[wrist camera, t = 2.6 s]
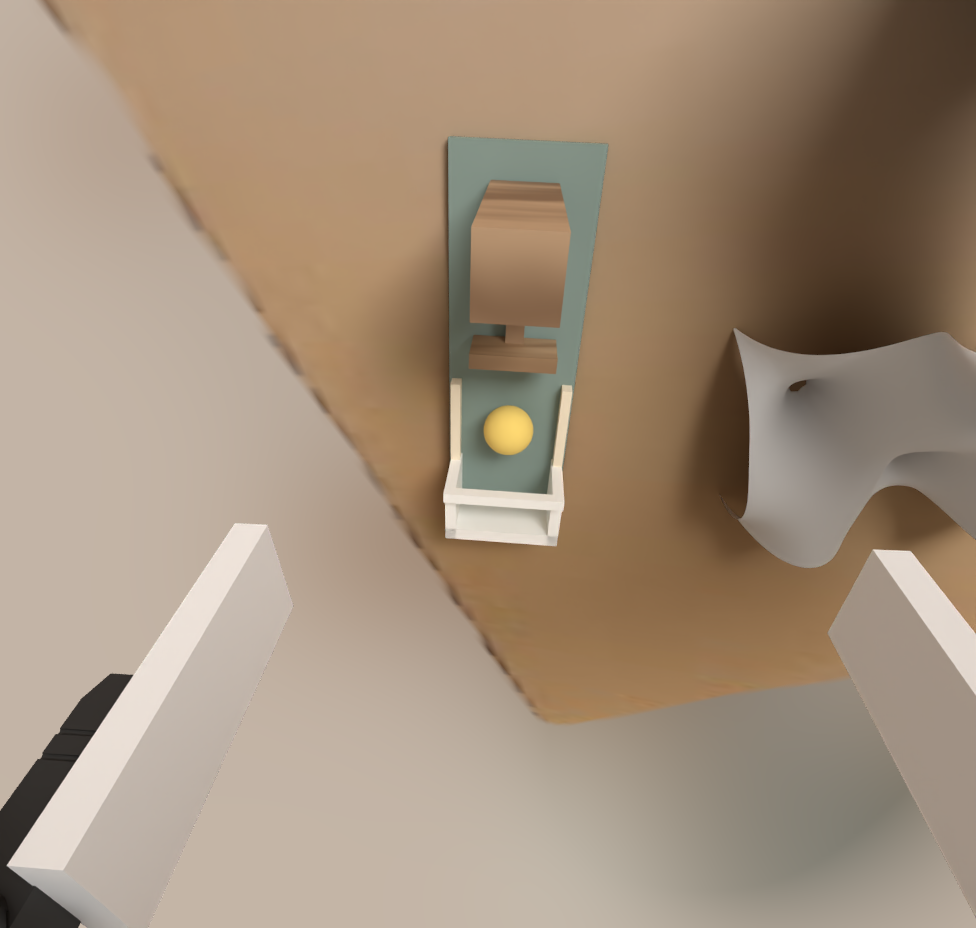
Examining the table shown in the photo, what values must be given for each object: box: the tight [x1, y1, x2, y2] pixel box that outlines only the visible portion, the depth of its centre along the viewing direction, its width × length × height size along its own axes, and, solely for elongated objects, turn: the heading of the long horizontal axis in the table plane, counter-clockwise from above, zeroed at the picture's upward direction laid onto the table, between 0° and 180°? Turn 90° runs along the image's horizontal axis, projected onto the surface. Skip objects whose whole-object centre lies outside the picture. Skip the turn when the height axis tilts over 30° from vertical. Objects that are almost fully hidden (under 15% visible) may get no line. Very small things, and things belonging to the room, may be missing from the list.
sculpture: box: [719, 328, 976, 568], centre depth 36 cm, size 25×19×10 cm
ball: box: [484, 405, 533, 455], centre depth 40 cm, size 4×4×4 cm
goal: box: [443, 453, 564, 546], centre depth 43 cm, size 5×9×5 cm, turn 88°
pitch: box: [448, 136, 608, 494], centre depth 39 cm, size 27×9×2 cm, turn 178°
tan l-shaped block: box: [469, 180, 571, 374], centre depth 30 cm, size 10×6×12 cm, turn 178°
